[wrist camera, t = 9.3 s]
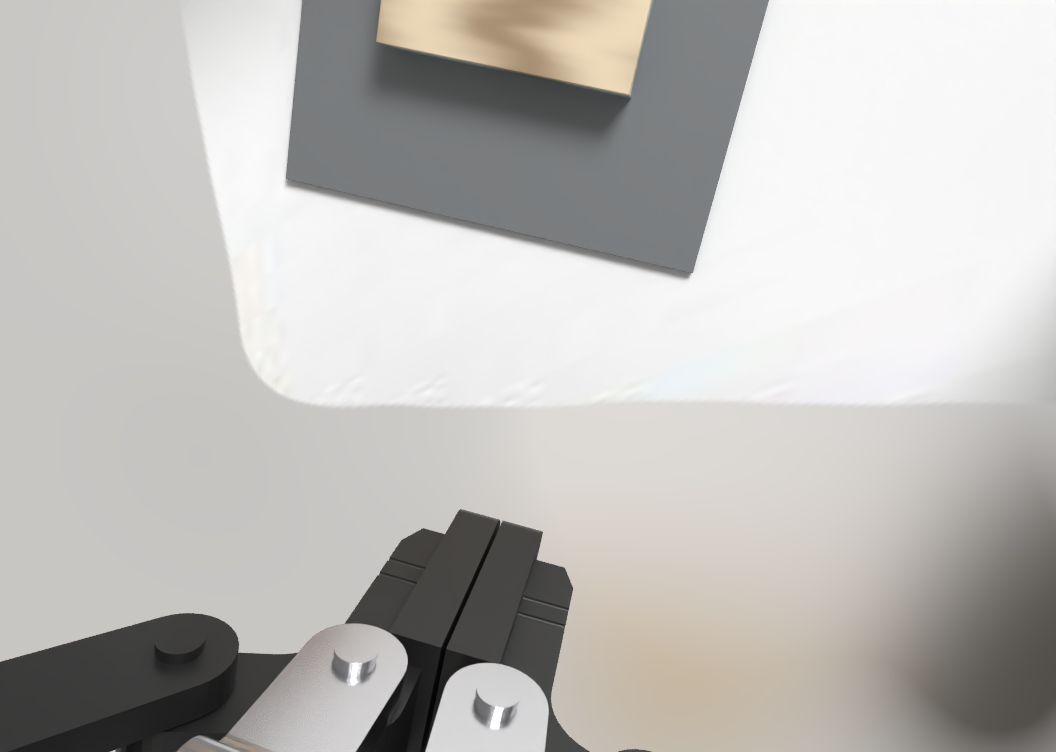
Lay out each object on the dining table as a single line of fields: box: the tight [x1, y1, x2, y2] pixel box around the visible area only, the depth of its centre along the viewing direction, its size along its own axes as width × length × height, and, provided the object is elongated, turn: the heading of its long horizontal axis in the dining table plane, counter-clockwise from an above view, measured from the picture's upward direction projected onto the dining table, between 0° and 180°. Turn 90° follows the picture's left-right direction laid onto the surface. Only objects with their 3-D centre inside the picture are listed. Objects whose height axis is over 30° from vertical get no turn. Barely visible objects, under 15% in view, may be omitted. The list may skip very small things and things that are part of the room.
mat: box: [286, 0, 769, 273], centre depth 35 cm, size 22×20×1 cm
